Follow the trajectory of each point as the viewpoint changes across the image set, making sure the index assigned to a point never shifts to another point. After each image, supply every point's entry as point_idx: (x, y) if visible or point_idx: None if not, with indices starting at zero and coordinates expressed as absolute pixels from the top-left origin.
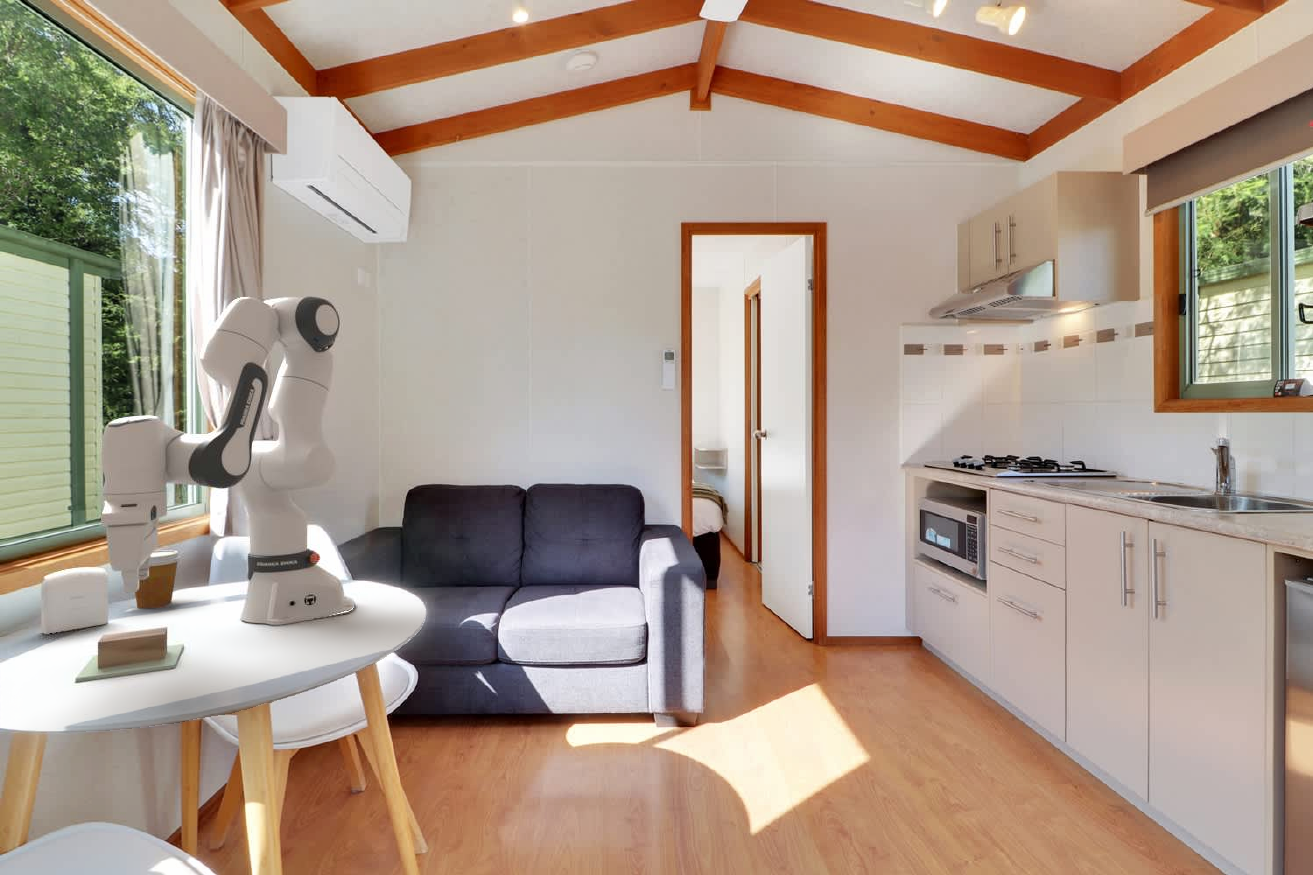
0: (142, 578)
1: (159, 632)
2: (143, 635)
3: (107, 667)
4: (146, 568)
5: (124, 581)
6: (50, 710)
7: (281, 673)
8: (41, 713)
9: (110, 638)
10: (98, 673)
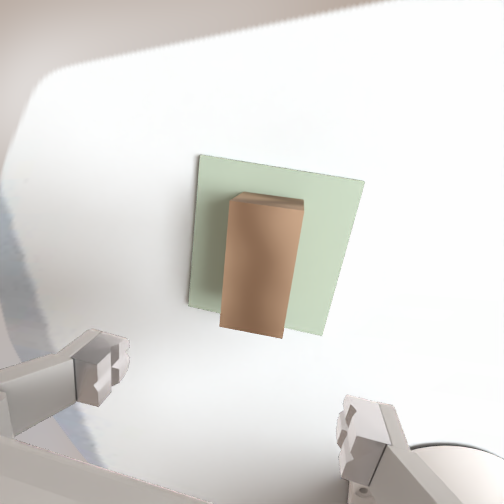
0: (341, 416)
1: (239, 319)
2: (232, 290)
3: None
4: (372, 484)
5: (40, 360)
6: (63, 127)
7: None
8: (54, 115)
9: (251, 226)
10: (208, 193)
